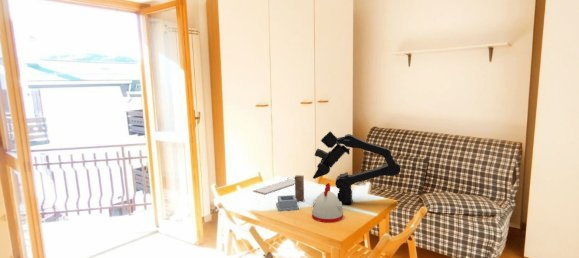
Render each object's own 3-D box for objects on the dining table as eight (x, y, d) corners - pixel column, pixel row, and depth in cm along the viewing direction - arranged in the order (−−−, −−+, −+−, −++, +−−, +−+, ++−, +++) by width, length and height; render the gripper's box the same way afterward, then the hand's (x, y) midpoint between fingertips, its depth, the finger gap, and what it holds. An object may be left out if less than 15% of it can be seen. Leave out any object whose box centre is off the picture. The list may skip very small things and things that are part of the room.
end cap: (295, 202, 165) (295, 194, 165) (299, 209, 155) (298, 200, 155) (276, 204, 164) (275, 195, 163) (278, 211, 154) (278, 202, 154)
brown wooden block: (304, 199, 170) (303, 175, 168) (303, 201, 167) (302, 177, 165) (296, 199, 171) (295, 175, 169) (295, 201, 168) (294, 176, 166)
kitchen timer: (345, 213, 150) (345, 181, 148) (339, 224, 137) (339, 189, 136) (316, 209, 155) (316, 179, 153) (308, 220, 142) (307, 187, 141)
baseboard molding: (250, 191, 188) (264, 195, 180) (250, 187, 188) (264, 190, 180) (286, 180, 211) (301, 183, 203) (286, 176, 211) (300, 179, 202)
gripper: (325, 140, 172) (306, 161, 175) (321, 146, 154) (299, 169, 157) (341, 155, 171) (321, 175, 174) (338, 162, 153) (316, 185, 156)
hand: (314, 175), depth 166 cm, fingers open, 9 cm apart
